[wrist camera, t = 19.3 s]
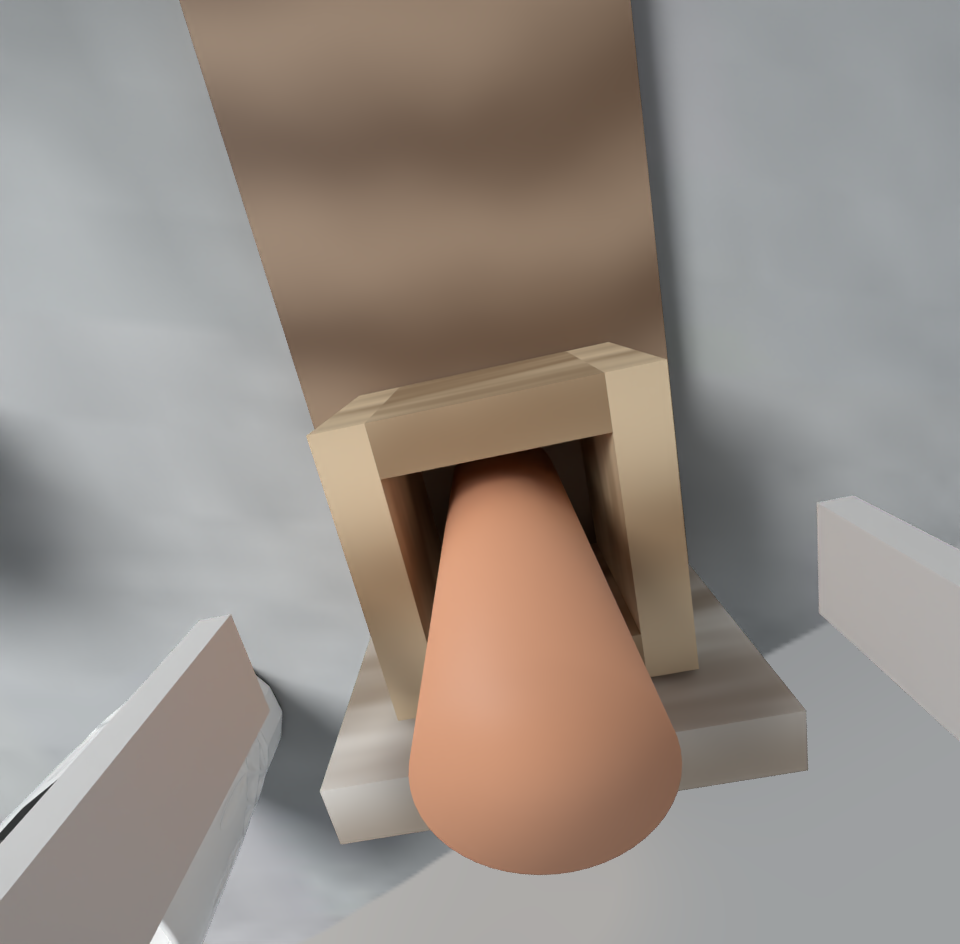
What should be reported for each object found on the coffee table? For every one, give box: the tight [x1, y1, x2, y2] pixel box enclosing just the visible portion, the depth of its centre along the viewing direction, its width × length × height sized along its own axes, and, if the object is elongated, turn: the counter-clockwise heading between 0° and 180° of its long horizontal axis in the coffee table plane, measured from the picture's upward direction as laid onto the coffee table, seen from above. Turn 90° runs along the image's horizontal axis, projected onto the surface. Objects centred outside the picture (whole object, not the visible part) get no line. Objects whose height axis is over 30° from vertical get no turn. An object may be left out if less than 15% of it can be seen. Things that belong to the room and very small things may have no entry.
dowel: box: [408, 447, 682, 875], centre depth 14 cm, size 4×4×13 cm
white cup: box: [0, 676, 282, 944], centre depth 21 cm, size 8×8×10 cm
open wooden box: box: [307, 342, 699, 721], centre depth 17 cm, size 9×9×6 cm
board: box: [179, 0, 808, 844], centre depth 15 cm, size 26×13×10 cm, turn 12°
